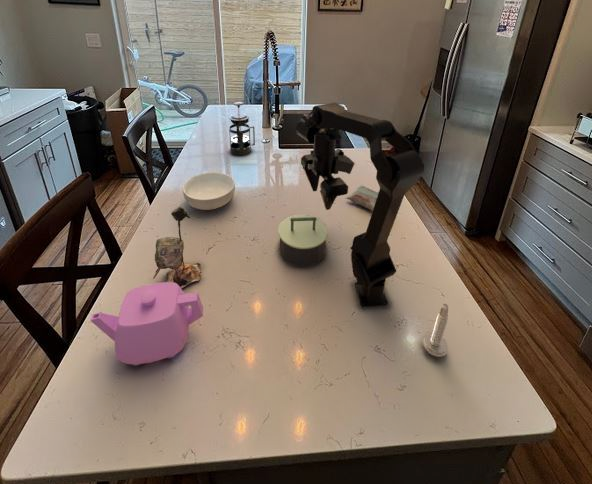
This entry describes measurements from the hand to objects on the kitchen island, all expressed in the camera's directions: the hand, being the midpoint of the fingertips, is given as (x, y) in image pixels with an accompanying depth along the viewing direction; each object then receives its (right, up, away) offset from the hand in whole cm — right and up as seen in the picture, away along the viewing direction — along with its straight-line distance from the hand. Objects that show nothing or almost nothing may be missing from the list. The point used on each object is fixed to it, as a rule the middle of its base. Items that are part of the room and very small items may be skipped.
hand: (321, 199), depth 92 cm
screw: (+21, -26, -25) cm, 41 cm away
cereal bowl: (-36, -5, +20) cm, 42 cm away
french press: (-32, +10, +56) cm, 65 cm away
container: (-5, -14, +1) cm, 15 cm away
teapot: (-36, -24, -24) cm, 50 cm away
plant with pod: (-37, -18, -9) cm, 42 cm away
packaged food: (+17, -6, +21) cm, 28 cm away
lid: (-5, -8, -2) cm, 10 cm away
